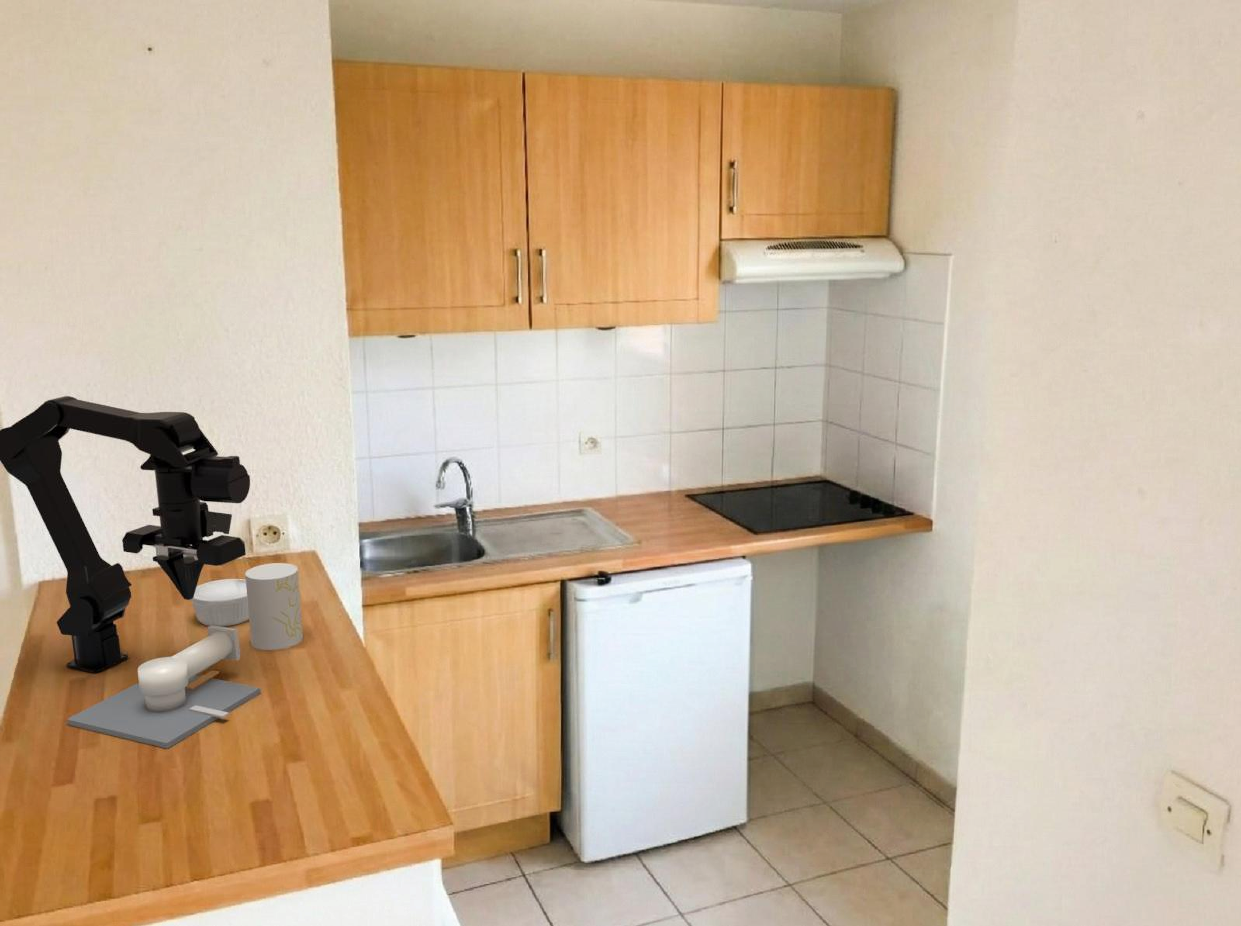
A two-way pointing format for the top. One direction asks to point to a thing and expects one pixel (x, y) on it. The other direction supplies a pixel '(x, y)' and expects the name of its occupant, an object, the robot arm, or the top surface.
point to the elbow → (188, 662)
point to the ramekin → (221, 602)
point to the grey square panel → (164, 711)
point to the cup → (274, 606)
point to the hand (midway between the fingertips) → (188, 598)
